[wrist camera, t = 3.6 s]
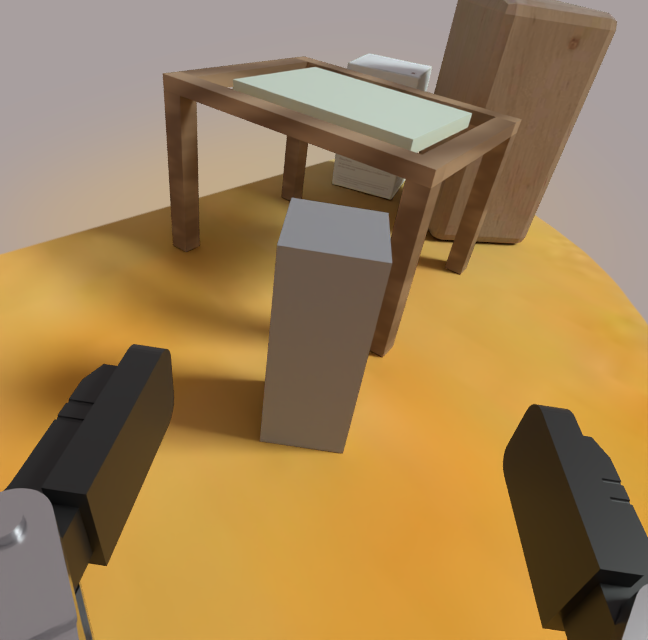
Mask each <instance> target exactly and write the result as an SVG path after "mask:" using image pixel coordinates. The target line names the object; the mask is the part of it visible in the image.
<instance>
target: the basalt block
mask: <svg viewBox="0 0 648 640" xmlns="http://www.w3.org/2000/svg"><path fill="white" fill-rule="evenodd" d="M391 266H392V253H391V240H390V227H389V213H386V212H379V211H373V210H367V209H360V208H354V207H348V206H342V205H335V204H329V203H323V202H317V201H310V200H304V199H298V198H291V201H290V205H289V208H288V211H287V214H286V218H285V221H284V224H283V228H282V231H281V234H280V237H279V241H278V244H277V252H276V263H275V275H274V286H273V297H272V309H271V320H270V331H269V343H268V354H267V365H266V377H265V388H264V400H263V411H262V422H261V434H260V441H261V442H268V443H275V444H282V445H289V446H296V447H303V448H309V449H316V450H323V451H330V452H337V453H343V451H344V447H345V443H346V439H347V436H348V432H349V428H350V424H351V420H352V416H353V412H354V409H355V405H356V401H357V397H358V393H359V389H360V386H361V382H362V378H363V374H364V370H365V366H366V363H367V359H368V355H369V351H370V347H371V343H372V339H373V336H374V332H375V328H376V324H377V320H378V316H379V313H380V309H381V305H382V301H383V297H384V293H385V290H386V286H387V282H388V278H389V274H390V270H391Z"/></svg>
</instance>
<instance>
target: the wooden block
mask: <svg viewBox="0 0 648 640" xmlns="http://www.w3.org/2000/svg"><path fill="white" fill-rule="evenodd" d="M616 25H617V21H616V20H615V19H614V18H613V17H612V16H611V15H610V14H609V13H606V12H602V11H597V10H593V9H589V8H585V7H581V6H577V5H572V4H569V3H564V2H560V1H556V0H458V3H457V7H456V11H455V14H454V18H453V22H452V26H451V30H450V34H449V38H448V42H447V46H446V49H445V54H444V57H443V61H442V65H441V69H440V73H439V77H438V80H437V84H436V88H435V92H434V94H436V95H439V96H443V97H446V98H450V99H453V100H456V101H460V102H463V103H467V104H470V105H474V106H477V107H481V108H484V109H488V110H491V111H494V112H498V113H501V114H505V115H508V116H512V117H515V118H519V119H522V120H521V122H520V125H519V128H518V130H517V133H516V136H515V139H514V141H513V144H512V147H511V149H510V152H509V155H508V157H507V160H506V163H505V165H504V168H503V171H502V173H501V176H500V179H499V182H498V184H497V187H496V190H495V192H494V195H493V198H492V200H491V203H490V206H489V208H488V211H487V214H486V216H485V219H484V222H483V225H482V227H481V230H480V233H479V235H478V238H477V241H479V242H498V243H519V242H521V241H522V240H523V239H524V238H525V236H526V234H527V232H528V229H529V227H530V225H531V222H532V220H533V218H534V216H535V213H536V211H537V209H538V207H539V204H540V202H541V200H542V197H543V195H544V193H545V191H546V188H547V186H548V184H549V182H550V179H551V177H552V174H553V172H554V170H555V168H556V166H557V163H558V161H559V159H560V156H561V154H562V152H563V150H564V147H565V145H566V143H567V141H568V138H569V136H570V134H571V131H572V129H573V127H574V125H575V122H576V120H577V118H578V115H579V113H580V111H581V108H582V106H583V104H584V102H585V100H586V97H587V95H588V93H589V90H590V88H591V86H592V83H593V81H594V79H595V77H596V75H597V72H598V70H599V68H600V65H601V63H602V61H603V58H604V56H605V54H606V52H607V49H608V47H609V45H610V43H611V40H612V38H613V36H614V34H615V31H616ZM475 127H477V126H474V125H471V124H469V125H468V128H466V129H464V130H461V131H459V132H457V133H455V134H453V135H451V136H449V137H447V138H445V139H443V140H441V141H439V142H437V143H435V144H433V145H431V146H429V147H427V148H425V149H423V150H421V151H419V154H424V153H426V152H428V151H430V150H432V149H434V148H436V147H438V146H440V145H442V144H444V143H446V142H448V141H450V140H452V139H454V138H456V137H458V136H460V135H462V134H464V133H466V132H467V131H469V130H471V129H473V128H475ZM482 157H483V155H482V156H480V157H479V158H477V159H476V160H474V161H473V162H471V163H470V164H468V165H466V166H465V167H463V168H462V169H460V170H459V171H457V172H456V173H454V174H453V175H451V176H450V177H448V178H446V179H445V180H443V181H442V183H441V186H440V190H439V193H438V196H437V200H436V203H435V207H434V210H433V213H432V217H431V220H430V223H429V227H428V230H429V231H430V233H431V234H432V236H434V237H436V238H438V239H441V240H454V239H455V236H456V233H457V230H458V227H459V224H460V221H461V219H462V216H463V213H464V210H465V207H466V204H467V201H468V198H469V195H470V192H471V189H472V186H473V183H474V180H475V177H476V174H477V171H478V169H479V166H480V163H481V160H482Z"/></svg>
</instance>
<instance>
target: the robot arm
mask: <svg viewBox="0 0 648 640" xmlns="http://www.w3.org/2000/svg"><path fill="white" fill-rule="evenodd" d="M173 406H174V390H173V378H172V365H171V355H170V351H169V350H168V349H162V348H156V347H149V346H143V345H136V344H133V345H132V346H130V347H129V349H128V350H127V352H126V353H125V355H124V357H123V358H122V360H121V361H120V363H119V365H118V366H113V365H107V364H103V365H102V366H100V367H99V368H98V369H96V370H95V371H93V372H92V373H91V374H89V375H88V376H86V377H85V378H84V379H82V381H81V382H80V384H79V385H78V386H77V388H76V389H75V391H74V392H73V394H72V395H71V397H70V398H69V402H68V403H66V404H65V405H64V407H63V408H62V410H61V411H60V412H59V414H58V417H57V419H56V420H54V421H53V423H52V424H51V425H50V427H49V428H48V430H47V431H46V433H45V434H44V436H43V437H42V438H41V440H40V441H39V443H38V444H37V446H36V447H35V449H34V450H33V451H32V453H31V454H30V456H29V457H28V459H27V460H26V462H25V463H24V464H23V466H22V467H21V469H20V470H19V472H18V473H17V475H16V476H15V477H14V479H13V480H12V482H11V483H10V484H9V485H8V487H7V488H6V489H5V490H4V491H2V492H0V640H94V636H93V631H92V627H91V623H90V619H89V615H88V611H87V607H86V602H85V598H84V594H83V590H82V586H81V583H80V580H81V578H82V576H83V573H84V571H85V569H86V567H87V565H88V563H90V564H97V565H103V566H107V564H108V562H109V560H110V557H111V555H112V553H113V551H114V548H115V546H116V544H117V541H118V539H119V537H120V535H121V532H122V530H123V528H124V526H125V523H126V521H127V519H128V516H129V514H130V512H131V510H132V507H133V505H134V503H135V501H136V498H137V496H138V494H139V491H140V489H141V487H142V485H143V482H144V480H145V478H146V476H147V473H148V471H149V469H150V466H151V464H152V462H153V460H154V457H155V455H156V453H157V450H158V448H159V446H160V444H161V441H162V439H163V437H164V435H165V432H166V430H167V428H168V425H169V423H170V420H171V416H172V412H173ZM503 471H504V477H505V481H506V485H507V489H508V493H509V497H510V500H511V504H512V508H513V512H514V516H515V520H516V524H517V528H518V532H519V536H520V540H521V544H522V548H523V552H524V556H525V560H526V564H527V568H528V572H529V576H530V580H531V584H532V588H533V592H534V596H535V600H536V604H537V608H538V612H539V616H540V620H541V624H542V628H545V629H552V630H559V631H565V633H566V636H567V640H648V537H647V535H646V533H645V531H644V529H643V526H642V524H641V522H640V520H639V518H638V516H637V514H636V512H635V510H634V507H633V505H630V503H629V501H630V499H629V497H628V495H627V493H626V491H625V488H624V486H622V485H621V484H620V482H621V480H620V478H619V476H618V474H617V471H616V469H615V467H614V465H613V463H612V461H611V459H610V457H609V456H608V455H607V454H606V453H605V452H604V451H603V450H602V448H601V447H600V446H599V445H598V444H597V443H596V442H595V440H594V439H593V438H592V437H588V436H583V435H582V432H581V430H580V428H579V426H578V423H577V421H576V419H575V417H574V415H573V413H572V412H571V411H570V410H568V409H562V408H556V407H549V406H543V405H536V404H533V405H531V406H530V407H529V408H528V409H527V411H526V413H525V414H524V416H523V418H522V420H521V422H520V423H519V425H518V427H517V429H516V431H515V432H514V434H513V436H512V438H511V439H510V441H509V443H508V445H507V447H506V449H505V453H504V458H503Z"/></svg>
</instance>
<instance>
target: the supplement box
mask: <svg viewBox="0 0 648 640" xmlns="http://www.w3.org/2000/svg"><path fill="white" fill-rule="evenodd" d="M347 69H349V70H353V71H356V72H360V73H363V74H367V75H370V76H374V77H377V78H380V79H384V80H387V81H391V82H394V83H398V84H401V85H405V86H408V87H412V88H415V89H418V90H422V91H425V92H426V90H427V86H428V82H429V78H430V74H431V69H432V67H431V66H426V65H421V64H417V63H412V62H407V61H402V60H397V59H393V58H388V57H384V56H379V55H375V54H367V55H364V56H362V57H360V58H358V59H356V60H353V61H351V62H349V63H348V67H347ZM404 181H405V179H404V178H401V177H398V176H396V175H393V174H390V173H388V172H385V171H382V170H379V169H377V168H374V167H371V166H369V165H366V164H363V163H361V162H358V161H355V160H352V159H350V158H347V157H344V156H342V155H339V154H336V155H335V163H334V171H333V179H332V184H335V185H339V186H343V187H346V188H350V189H354V190H357V191H361V192H364V193H368V194H372V195H375V196H379V197H382V198H386V199H390V200H391V199H392V198H393V197H394V195H395V194H396V192H397V191H398V190H399V188H400V187H401V185H402V184H403V183H404Z"/></svg>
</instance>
